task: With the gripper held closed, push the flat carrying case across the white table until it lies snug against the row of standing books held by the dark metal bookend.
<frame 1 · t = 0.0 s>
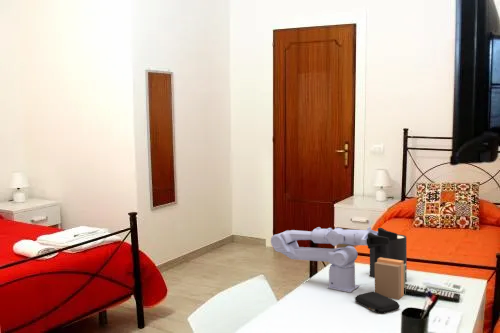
hand: (392, 238, 185), 22 cm above the table, tool horizontal, fingers open, 7 cm apart
book row: (391, 293, 190), on the table
light fixture: (390, 278, 208), on the table
carrying case or bag: (375, 307, 179), on the table
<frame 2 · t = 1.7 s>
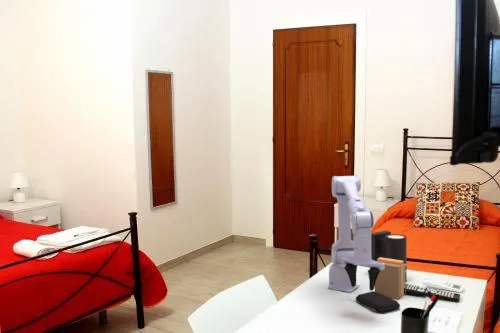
hand: (362, 287, 171), 9 cm above the table, tool pointing down, fingers open, 6 cm apart
nothing on the table moved.
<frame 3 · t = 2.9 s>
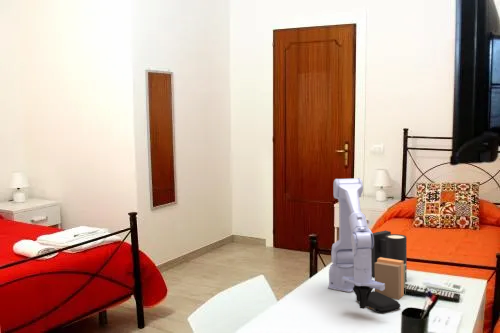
hand: (363, 307, 171), 3 cm above the table, tool pointing down, fingers closed
nothing on the table moved.
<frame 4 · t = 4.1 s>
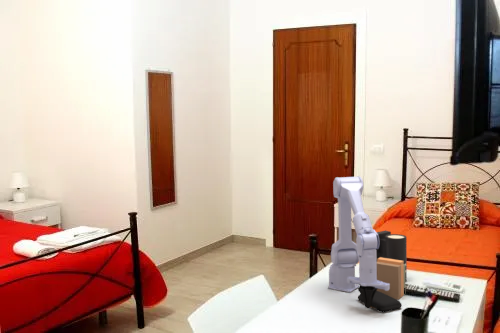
hand: (368, 307, 175), 1 cm above the table, tool pointing down, fingers closed
carrying case or bag: (377, 306, 180), on the table, touching gripper
everything else where it was.
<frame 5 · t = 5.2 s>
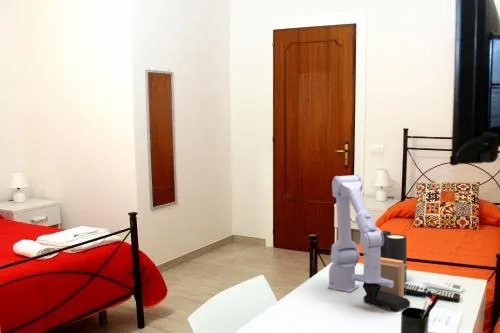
hand: (372, 304, 177), 1 cm above the table, tool pointing down, fingers closed
carrying case or bag: (385, 305, 181), on the table
everything else where it was.
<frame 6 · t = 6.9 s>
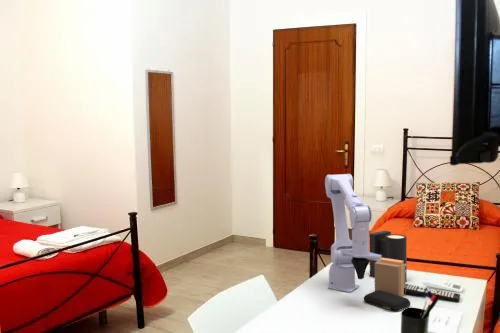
hand: (360, 278, 180), 9 cm above the table, tool pointing down, fingers closed
nothing on the table moved.
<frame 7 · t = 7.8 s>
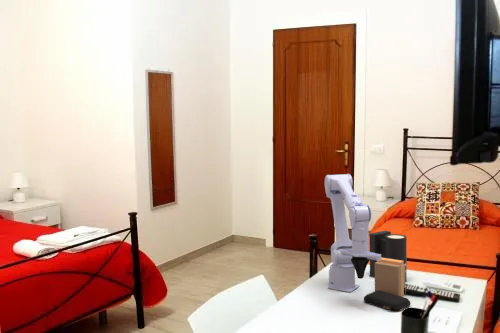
hand: (360, 277, 181), 9 cm above the table, tool pointing down, fingers closed
nothing on the table moved.
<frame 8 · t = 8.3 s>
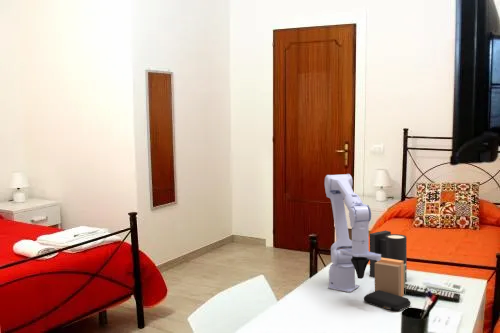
hand: (360, 277, 181), 9 cm above the table, tool pointing down, fingers closed
nothing on the table moved.
at the end: carrying case or bag 2.4 cm from the target spot, on the table; carrying case or bag tilted 0° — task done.
